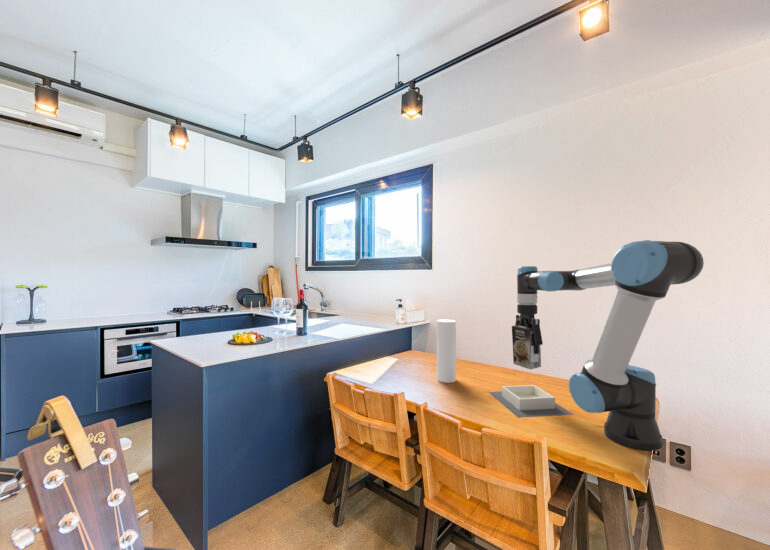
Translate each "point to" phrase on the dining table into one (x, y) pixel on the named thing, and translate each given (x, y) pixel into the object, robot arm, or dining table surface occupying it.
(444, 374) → the cylinder container
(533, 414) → the mat
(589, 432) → the dining table surface
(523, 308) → the robot arm
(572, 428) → the dining table surface
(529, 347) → the coffee box
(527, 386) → the tray
